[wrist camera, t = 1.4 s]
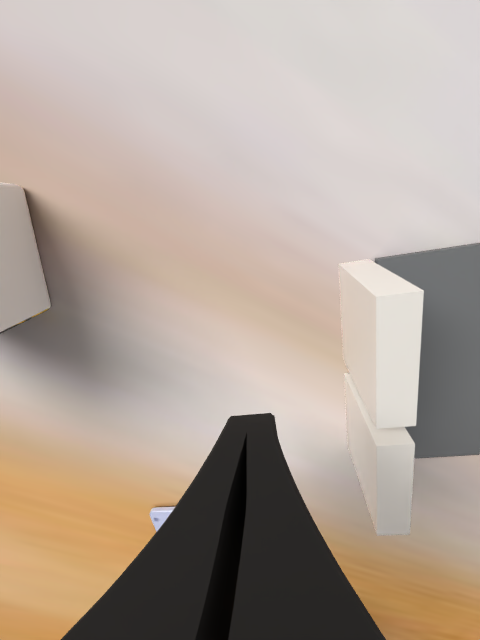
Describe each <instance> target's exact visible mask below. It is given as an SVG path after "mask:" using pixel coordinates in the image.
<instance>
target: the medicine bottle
mask: <svg viewBox="0 0 480 640" xmlns="http://www.w3.org/2000/svg"><path fill="white" fill-rule="evenodd" d="M50 307H51V303H50V298H49V294H48V290H47V286H46V281H45V277H44V273H43V269H42V264H41V260H40V256H39V252H38V247H37V243H36V239H35V235H34V230H33V226H32V222H31V218H30V213H29V209H28V205H27V201H26V196H25V192H24V190H23V188H22V187H21V186H19V185H17V184H12V183H0V333H2V332H4V331H6V330H8V329H10V328H12V327H14V326H16V325H19V324H21V323H23V322H25V321H27V320H29V319H31V318H33V317H35V316H37V315H39V314H41V313H43V312H45V311H47V310H48V309H49V308H50Z"/></svg>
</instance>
